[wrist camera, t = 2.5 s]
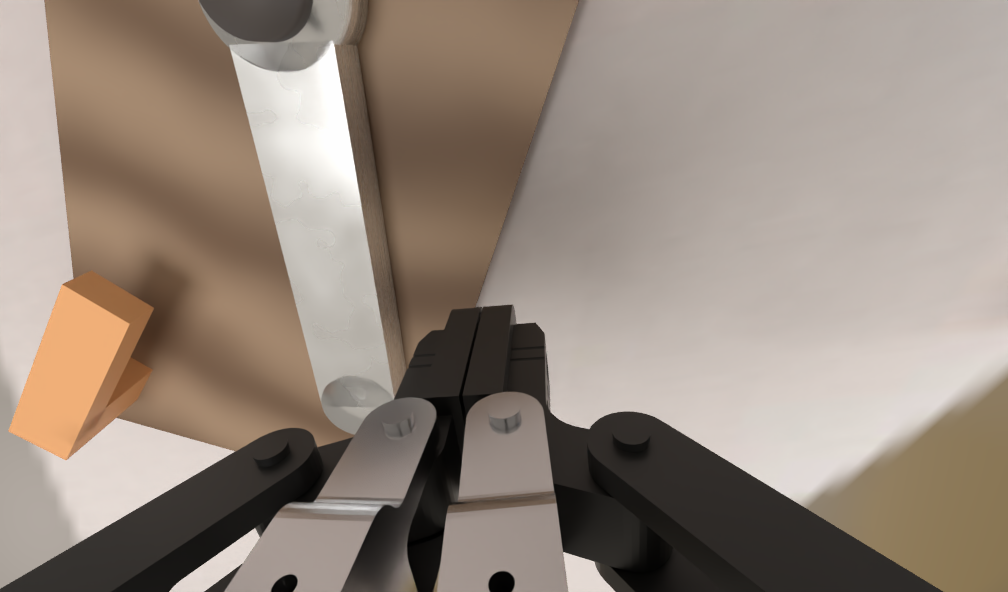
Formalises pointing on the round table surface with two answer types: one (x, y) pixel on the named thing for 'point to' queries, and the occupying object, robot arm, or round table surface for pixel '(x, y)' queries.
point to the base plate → (242, 192)
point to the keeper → (83, 366)
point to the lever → (326, 203)
